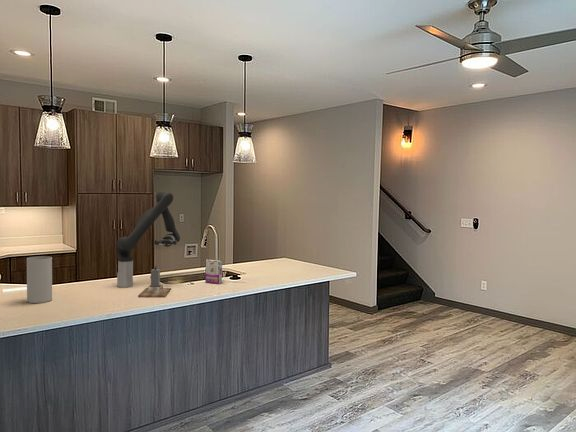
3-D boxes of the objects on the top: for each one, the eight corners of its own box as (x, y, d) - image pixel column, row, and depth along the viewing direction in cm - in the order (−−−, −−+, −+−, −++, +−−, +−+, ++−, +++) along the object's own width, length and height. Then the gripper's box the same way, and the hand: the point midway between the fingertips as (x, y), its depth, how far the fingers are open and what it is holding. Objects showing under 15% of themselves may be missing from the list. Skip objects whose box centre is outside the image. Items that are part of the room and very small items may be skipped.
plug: (150, 292, 266) (150, 265, 265) (152, 290, 271) (152, 264, 270) (158, 292, 267) (158, 265, 266) (159, 290, 271) (160, 264, 270)
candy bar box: (222, 283, 304) (222, 260, 303) (218, 284, 300) (219, 261, 299) (208, 281, 308) (209, 259, 307) (205, 282, 303) (205, 260, 302)
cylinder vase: (49, 303, 240) (48, 259, 239) (24, 304, 237) (23, 259, 235) (54, 297, 252) (54, 256, 251) (30, 298, 249) (30, 256, 247)
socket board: (138, 297, 258) (138, 289, 258) (146, 289, 278) (146, 282, 278) (165, 297, 260) (165, 289, 259) (171, 289, 280) (171, 282, 279)
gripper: (158, 235, 298) (152, 237, 281) (178, 235, 299) (174, 238, 283) (158, 245, 298) (152, 249, 282) (178, 246, 299) (174, 249, 283)
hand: (163, 243), depth 282 cm, fingers open, 8 cm apart
